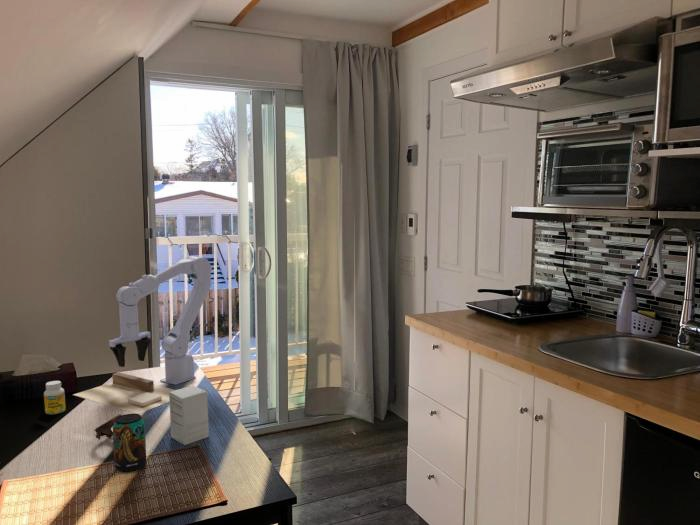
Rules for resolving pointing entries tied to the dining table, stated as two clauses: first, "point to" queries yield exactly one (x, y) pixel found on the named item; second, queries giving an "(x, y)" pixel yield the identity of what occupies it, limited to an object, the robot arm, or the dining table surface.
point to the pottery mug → (106, 428)
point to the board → (124, 396)
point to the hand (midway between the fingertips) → (131, 363)
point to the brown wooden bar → (133, 382)
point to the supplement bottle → (54, 398)
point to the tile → (144, 399)
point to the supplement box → (189, 414)
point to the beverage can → (129, 443)
